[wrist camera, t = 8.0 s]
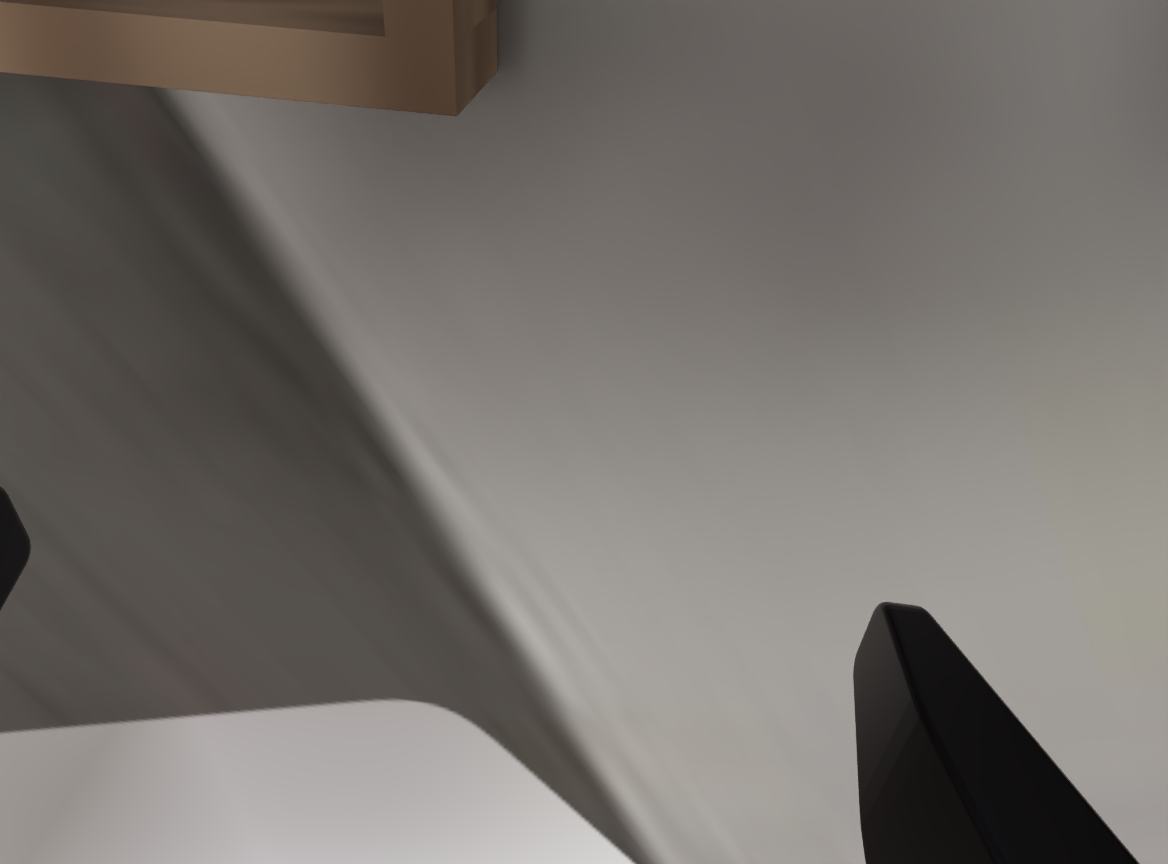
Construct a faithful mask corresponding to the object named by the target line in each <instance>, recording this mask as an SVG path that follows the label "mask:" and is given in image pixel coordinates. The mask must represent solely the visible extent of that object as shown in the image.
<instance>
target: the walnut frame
mask: <svg viewBox="0 0 1168 864" xmlns="http://www.w3.org/2000/svg"><path fill="white" fill-rule="evenodd" d="M497 71H498V26H497V0H0V72H6V73H16V74H26V75H37V76H47V77H57V78H68V79H78V80H88V81H99V82H109V83H119V84H130V85H140V86H150V87H161V88H171V89H181V90H192V91H202V92H212V93H223V94H233V95H243V96H254V97H264V98H274V99H285V100H295V101H305V102H316V103H326V104H336V105H347V106H357V107H367V108H378V109H388V110H398V111H409V112H419V113H429V114H440V115H450V116H457V115H458V114H459V113H460V112H461V111H462V110H463V109H464V107H465V106H466V105H467V104H468V103H469V102H470V101H471V100H472V99H473V97H474V96H475V95H476V94H477V93H478V92H479V91H480V90H481V89H482V87H483V86H484V85H485V84H486V83H487V82H488V81H489V80H490V79H491V77H492V76H493V75H494V74H495V73H496V72H497Z"/></svg>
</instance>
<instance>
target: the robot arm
mask: <svg viewBox="0 0 1168 864" xmlns="http://www.w3.org/2000/svg"><path fill="white" fill-rule="evenodd" d="M30 549H31V545H30V539H29V536H28V534H27V532H26V530H25V528H24V526H23V524H22V522H21V520H20V518H19V516H18V514H17V512H16V510H15V508H14V506H13V504H12V502H11V500H10V498H9V496H8V494H7V493H6V491H5V490H4V489H3V488H2V487H0V610H1V608H2V606H3V605H4V603H5V601H6V599H7V598H8V596H9V594H10V592H11V590H12V589H13V587H14V585H15V583H16V581H17V580H18V578H19V576H20V574H21V573H22V571H23V569H24V567H25V565H26V563H27V561H28V559H29V555H30ZM853 679H854V701H855V722H856V744H857V765H858V786H859V806H860V821H861V832H862V839H863V847H864V854H865V861H866V864H1139V862H1138V861H1137V860H1136V859H1135V858H1134V856H1133V855H1132V854H1131V853H1130V852H1129V851H1128V849H1127V848H1126V847H1125V846H1124V845H1123V843H1122V842H1121V841H1120V840H1119V839H1118V837H1117V836H1116V835H1115V834H1114V833H1113V831H1112V830H1111V829H1110V828H1109V827H1108V825H1107V824H1106V823H1105V822H1104V821H1103V820H1102V818H1101V817H1100V816H1099V815H1098V814H1097V812H1096V811H1095V810H1094V809H1093V808H1092V806H1091V805H1090V804H1089V803H1088V802H1087V800H1086V799H1085V798H1084V797H1083V796H1082V794H1081V793H1080V792H1079V791H1078V790H1077V789H1076V787H1075V786H1074V785H1073V784H1072V783H1071V781H1070V780H1069V779H1068V778H1067V777H1066V775H1065V774H1064V773H1063V772H1062V771H1061V769H1060V768H1059V767H1058V766H1057V765H1056V763H1055V762H1054V761H1053V760H1052V759H1051V757H1050V756H1049V755H1048V754H1047V753H1046V752H1045V750H1044V749H1043V748H1042V747H1041V746H1040V744H1039V743H1038V742H1037V741H1036V740H1035V738H1034V737H1033V736H1032V735H1031V734H1030V732H1029V731H1028V730H1027V729H1026V728H1025V726H1024V725H1023V724H1022V723H1021V722H1020V721H1019V719H1018V718H1017V717H1016V716H1015V715H1014V713H1013V712H1012V711H1011V710H1010V709H1009V707H1008V706H1007V705H1006V704H1005V703H1004V701H1003V700H1002V699H1001V698H1000V697H999V695H998V694H997V693H996V692H995V691H994V690H993V688H992V687H991V686H990V685H989V684H988V682H987V681H986V680H985V679H984V678H983V676H982V675H981V674H980V673H979V672H978V670H977V669H976V668H975V667H974V666H973V664H972V663H971V662H970V661H969V660H968V658H967V657H966V656H965V655H964V654H963V653H962V651H961V650H960V649H959V648H958V647H957V645H956V644H955V643H954V642H953V641H952V639H951V638H950V637H949V636H948V635H947V633H946V632H945V631H944V630H943V629H942V627H941V626H940V625H939V624H938V623H937V622H936V620H935V619H934V618H933V617H932V616H931V614H930V613H929V612H928V611H926V610H925V609H924V608H922V607H919V606H915V605H907V604H900V603H892V602H882V603H880V604H879V605H878V606H877V607H876V608H875V610H874V612H873V614H872V617H871V619H870V622H869V624H868V627H867V629H866V631H865V634H864V636H863V639H862V641H861V644H860V646H859V648H858V651H857V654H856V657H855V662H854V673H853Z"/></svg>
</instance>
